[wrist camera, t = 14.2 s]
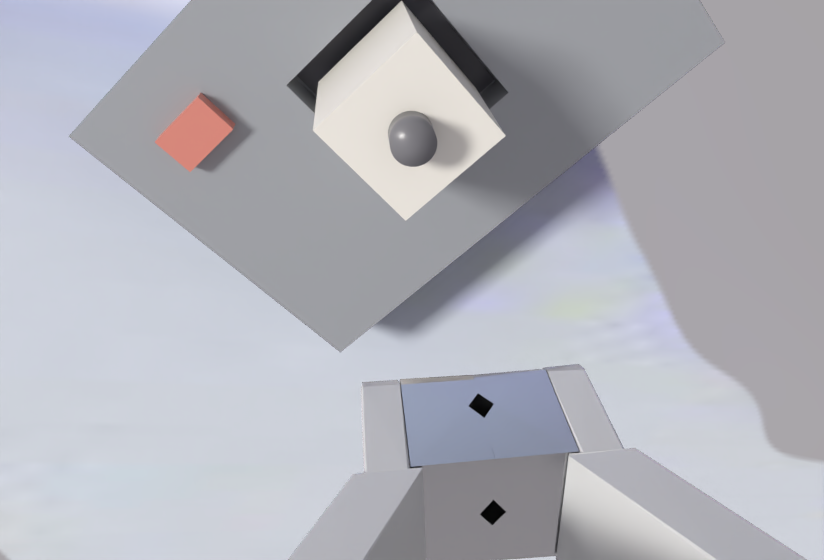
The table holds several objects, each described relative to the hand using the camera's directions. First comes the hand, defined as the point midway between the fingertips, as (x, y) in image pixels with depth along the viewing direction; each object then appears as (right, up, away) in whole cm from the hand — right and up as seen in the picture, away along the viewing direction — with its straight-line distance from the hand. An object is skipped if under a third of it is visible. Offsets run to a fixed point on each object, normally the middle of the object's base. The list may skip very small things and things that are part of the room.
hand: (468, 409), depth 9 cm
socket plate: (-2, +10, +18) cm, 21 cm away
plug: (-1, +10, +17) cm, 20 cm away
